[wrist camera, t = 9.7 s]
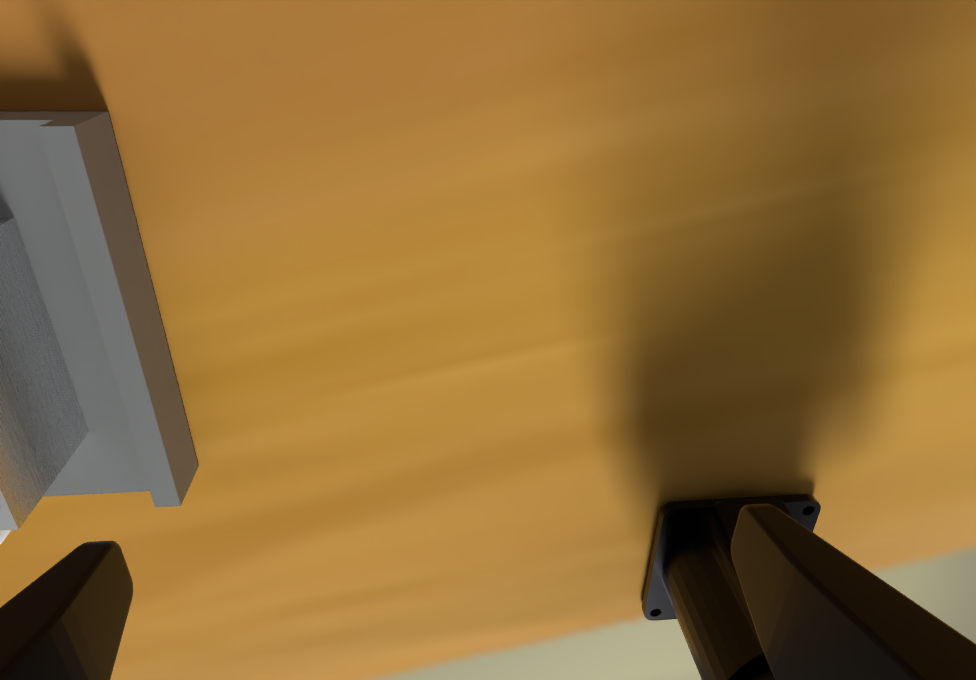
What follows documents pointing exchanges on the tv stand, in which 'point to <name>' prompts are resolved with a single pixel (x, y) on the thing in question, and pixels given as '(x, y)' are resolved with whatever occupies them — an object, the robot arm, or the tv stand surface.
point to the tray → (97, 303)
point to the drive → (30, 388)
